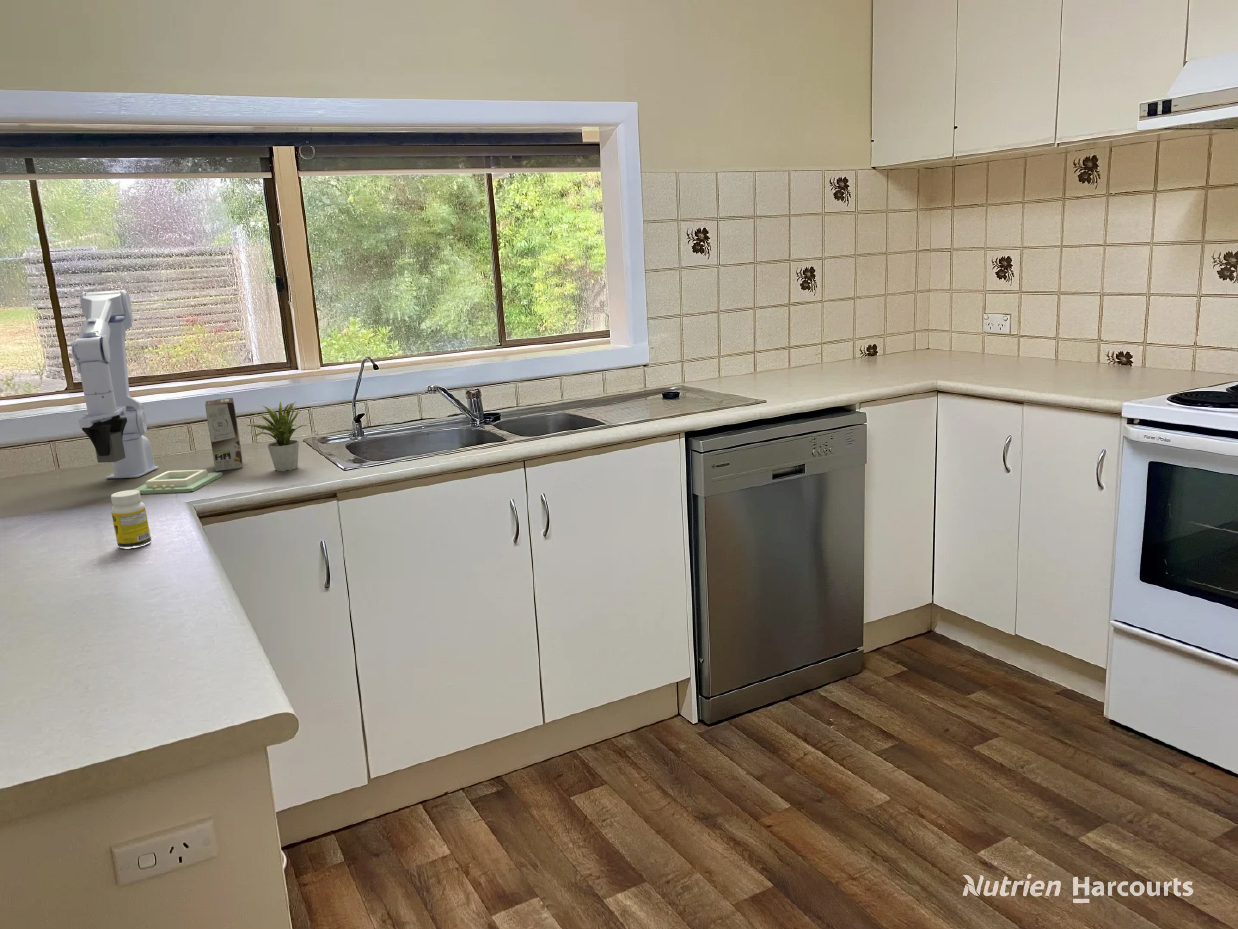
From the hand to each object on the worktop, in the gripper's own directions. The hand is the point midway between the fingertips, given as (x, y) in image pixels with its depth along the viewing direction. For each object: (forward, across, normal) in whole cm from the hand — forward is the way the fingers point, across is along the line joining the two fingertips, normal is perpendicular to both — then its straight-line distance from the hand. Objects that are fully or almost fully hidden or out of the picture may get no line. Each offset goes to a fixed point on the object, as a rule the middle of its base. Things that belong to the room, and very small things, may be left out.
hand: (110, 453), depth 209 cm
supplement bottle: (+9, +40, +27) cm, 49 cm away
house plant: (+9, -17, +32) cm, 37 cm away
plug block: (+2, 0, 0) cm, 2 cm away
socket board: (+9, -4, +12) cm, 15 cm away
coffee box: (+9, -21, +16) cm, 28 cm away
